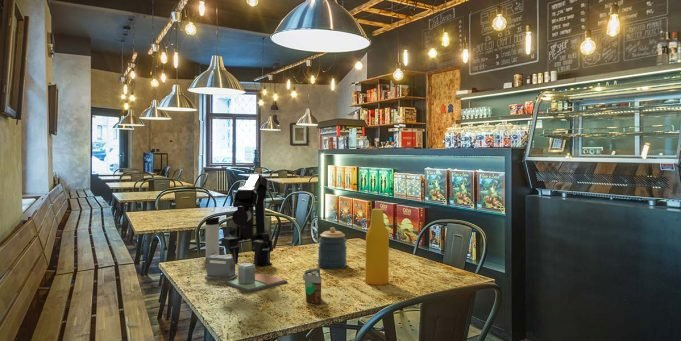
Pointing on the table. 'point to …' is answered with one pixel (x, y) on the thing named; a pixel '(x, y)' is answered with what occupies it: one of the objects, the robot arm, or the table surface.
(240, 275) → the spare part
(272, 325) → the table surface
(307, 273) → the food container
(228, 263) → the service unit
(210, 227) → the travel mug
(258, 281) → the sorting board
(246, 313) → the table surface
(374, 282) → the beer bottle
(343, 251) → the canister
